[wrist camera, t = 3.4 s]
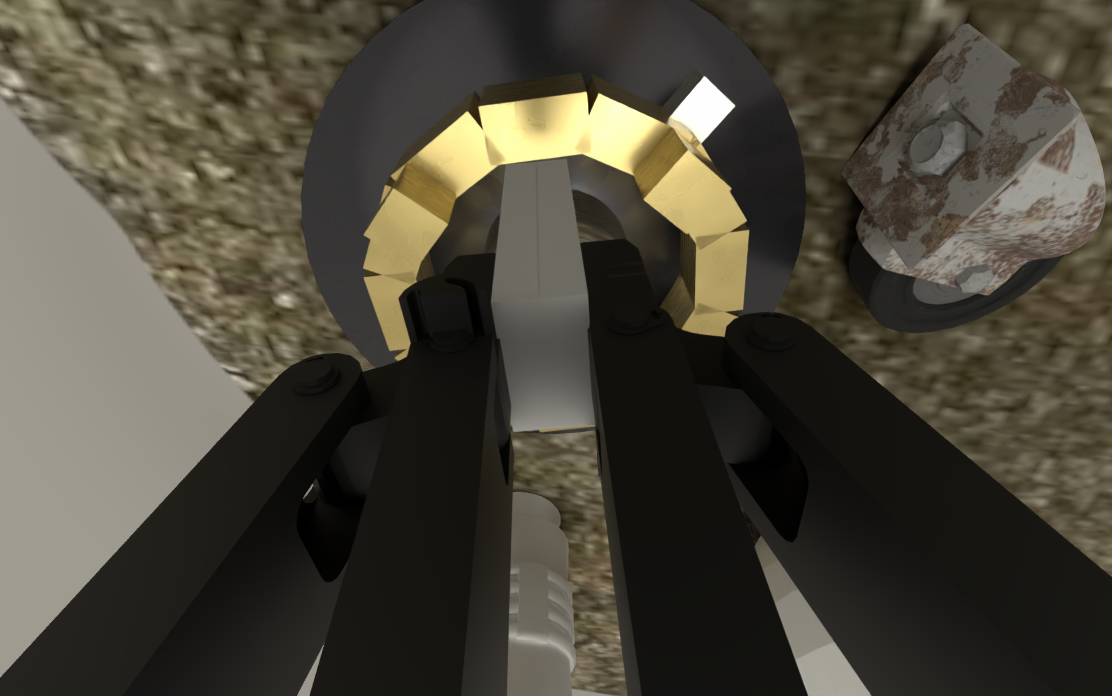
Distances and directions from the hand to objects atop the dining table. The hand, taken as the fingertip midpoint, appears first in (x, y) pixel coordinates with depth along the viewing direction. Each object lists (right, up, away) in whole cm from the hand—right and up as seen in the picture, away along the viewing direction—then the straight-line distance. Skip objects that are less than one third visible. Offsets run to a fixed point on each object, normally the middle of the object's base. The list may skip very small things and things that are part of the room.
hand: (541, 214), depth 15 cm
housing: (0, +2, +13) cm, 13 cm away
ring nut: (0, +1, +11) cm, 11 cm away
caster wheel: (+18, +4, +12) cm, 22 cm away
